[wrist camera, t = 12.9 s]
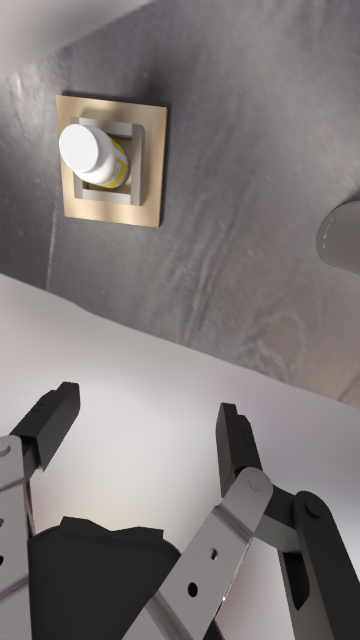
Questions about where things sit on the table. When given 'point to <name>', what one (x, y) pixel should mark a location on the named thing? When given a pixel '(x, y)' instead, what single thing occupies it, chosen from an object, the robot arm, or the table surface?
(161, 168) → the socket stand
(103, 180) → the supplement bottle
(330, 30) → the table surface
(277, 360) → the table surface
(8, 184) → the table surface
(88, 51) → the table surface
